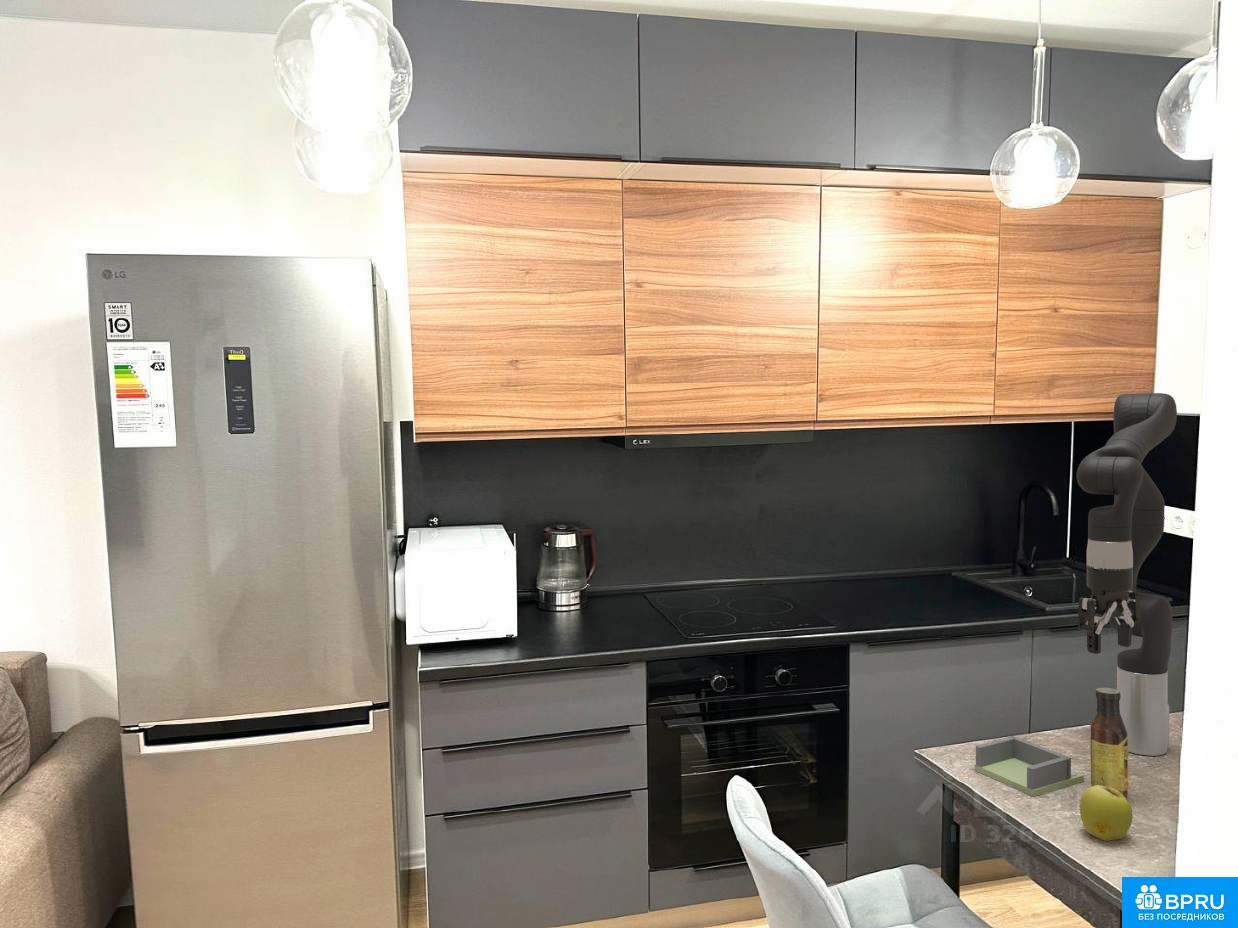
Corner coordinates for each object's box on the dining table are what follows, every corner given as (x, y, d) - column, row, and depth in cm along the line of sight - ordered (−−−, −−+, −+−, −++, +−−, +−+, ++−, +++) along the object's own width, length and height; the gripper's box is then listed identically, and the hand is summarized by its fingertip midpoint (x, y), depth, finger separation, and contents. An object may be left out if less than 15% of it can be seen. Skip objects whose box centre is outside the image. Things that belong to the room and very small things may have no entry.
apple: (1070, 832, 150) (1076, 772, 151) (1085, 830, 155) (1091, 772, 157) (1121, 848, 144) (1127, 785, 146) (1135, 845, 150) (1141, 785, 151)
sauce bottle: (1133, 802, 162) (1134, 697, 161) (1096, 800, 164) (1097, 695, 162) (1120, 787, 169) (1121, 685, 168) (1085, 785, 170) (1085, 684, 169)
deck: (1023, 756, 185) (1023, 732, 184) (1083, 781, 172) (1083, 755, 172) (974, 770, 179) (974, 745, 178) (1033, 796, 166) (1033, 769, 166)
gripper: (1115, 556, 170) (1115, 639, 171) (1065, 564, 164) (1065, 650, 165) (1153, 562, 163) (1153, 648, 164) (1102, 570, 157) (1102, 660, 158)
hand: (1109, 649), depth 165 cm, fingers open, 8 cm apart
